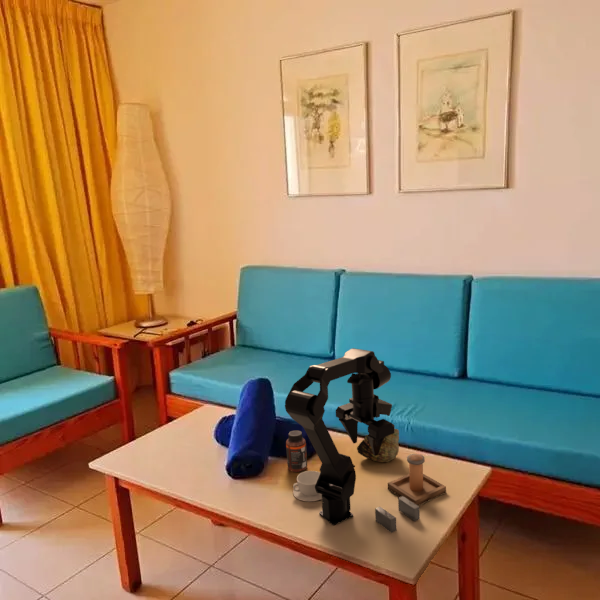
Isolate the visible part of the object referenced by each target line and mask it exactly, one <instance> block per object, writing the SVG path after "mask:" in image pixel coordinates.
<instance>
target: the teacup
mask: <svg viewBox="0 0 600 600" xmlns="http://www.w3.org/2000/svg"><path fill="white" fill-rule="evenodd" d="M319 475H320V471H316V470H306V471H305V470H304V471H301V472H300V473H299V474H298V475H297V477H296V481H297V482H294V483H293V486H292V488H293V490H292V495H293V497H295V498H296V499H297V500H300V501H302V502H303V501H304V502H315V501H319V500H322V494H320V493H317V492H316V490H315V485H316V483H317V480H318V478H319Z"/></svg>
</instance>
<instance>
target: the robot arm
mask: <svg viewBox="0 0 600 600" xmlns="http://www.w3.org/2000/svg"><path fill="white" fill-rule="evenodd" d="M349 375H350V377H349V378H348V379H347V381H346V382H347V384H351V398H349V401H348V403H345V404H342V405H339V406H337V408H336V409H335V417H336V418H338V421H339V422H340V424H341V425H342V427H344V429H345V431H346V433H347V435H348V437H349V439H350V440H351V442H352V443H353V444H356V443H358V426H359V425H358V424H359V423H361V424H362V423H363V424H365V425H366V426H367V433H368V434H367V435H368V438H369V442H370V445H371V448H372V451H373V454H374V456H377V455H378V454H379V451H380V448H381V445H382V442H383V440H384V438H385V437H386V436H389V435H391V434H393V433H395V429H396V427H395V426H396V425H395V423H392V422H390V421H388V420H386V419H385V418H381V419H379V420H378V419H377V418H380V416H381V415H382V416H383V415H385V416H389V417H390V415H391V412H392V407H393V403H390V402H388V401H386V400H384V399H380V398H379V395H377V394H375V393H374V390H377V389H379V388H381V387H382V386H384V385H385V384H387V383H388V382H390V381H391V379H392V373H391V371H390V369H389V368H388V367H387V365H385V361H384V360H381V359H378V357H377V356H376V354H375V352H374V351H372V350H367V349H359V348H354V347H353V348H350V349H348V350H347V351H346V352H344V355H343V356H342V357H338V358H335V359H333V360H330V361H325V362H323V363H319V364H313V365H309V367H308V368H307V370H306V372H305V374H303V376H302V377H300V378H299V379H297V381H296V382H294V383H293V385H292V387H291V388H290V391H289V392H288V394H287V395H286V397H285V399H284V400H285V401H284V409H285V411H286V413H287V414H288V415H289V416H290V418H291V419H292V420H294V421H295V422H296V423H297V424H299V425H300V426H301V427H302V428H303V429H304V431H305V433H306V435H307V438H308V439H309V441H310V443H311V445H312V447H313V448H314V450H315V453H316V455H317V457H318V459H319V460H320V463H321V464H320V467H319V472H320V475H319V478H318V480H317V483H316V485H315V490H316V492H317V493H320V494H322V499H321V507H322V508H321V509H322V510H320V511H319V513H318V515H320V516H321V517H322V518H324V519H325V520H326V521H327V522H328V523H329V524H331V525H332V526H335V525H337V524H339V523H342V522H344V521H347V520H349V519H350V518H351V519H352V518H353V517H354V514H353V512H351V497H352V496H353V495H354V492H355V487H356V480H357V474H356V469H355V467H356V465H355V464H354V463H353V460H352V458H351V457H350V456H349V455H347V454H343V453H340V452H339V450H338V449H337V447H336V444H335V442H334V440H333V438H332V436H331V434H330V432H329V430H328V428H327V426H326V424H325V421H324V419H323V417H324V414H325V411H326V410H325V406H326V404H327V402H328V400H329V388H328V387H329V385H330V383H331V381H335V380H337V379H340V378H342V377H346V376H349ZM313 383H317V384H319V391H318V393H317V394H314V393H308V392H305V390H307V389H308V388H310V386H312V385H313ZM375 418H376V419H377V420H375Z"/></svg>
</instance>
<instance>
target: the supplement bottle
mask: <svg viewBox="0 0 600 600" xmlns="http://www.w3.org/2000/svg"><path fill="white" fill-rule="evenodd" d="M302 433H303V432H302V431H301V430H291V431H289V433H288V438H287V439H286V441H285V449H286V461H287V469H288V470H289V471H290V472H293V473H298V472H300V473H301V472H304V471H305V470H306V469H308V468H307V467H308V455H307V443H306V439H305V438H304V437H303V434H302Z"/></svg>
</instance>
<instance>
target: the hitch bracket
mask: <svg viewBox="0 0 600 600" xmlns="http://www.w3.org/2000/svg"><path fill="white" fill-rule="evenodd" d="M397 499H398V500H397V501H398V511H399V512H400V513H402V514H403V515H404V516H406V517H407V518H409V519H411V520H412V521H414V522H416V521H419V520H420V517H421V515H420V511H421V510H420V505H419V506H418V505H416V504H414V503H413V502H411V501H410V500H408V499H407V498H405V497H404V496H402V497H398V498H397ZM374 514H375V522H376V523H377V524H379V525H380V526H381V527H383V528H384V529H386V530H387V531H388V532H390V533H391V534H392V533H396V531H397V517H396V516H395V515H393V514H391V512H389V511H387V510H386V509H385V508H384V507H382V506H378V507H376V508H374Z"/></svg>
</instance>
